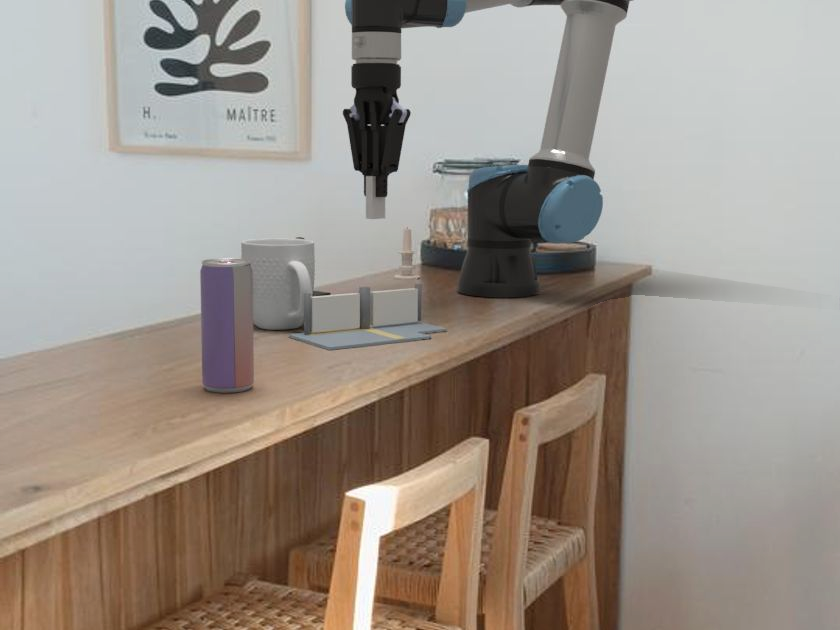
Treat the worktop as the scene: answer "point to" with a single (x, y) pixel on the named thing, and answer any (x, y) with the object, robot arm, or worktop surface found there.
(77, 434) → the worktop surface
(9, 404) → the worktop surface
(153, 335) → the worktop surface
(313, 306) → the fence fixed panel
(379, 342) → the card
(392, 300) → the panel
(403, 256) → the candle
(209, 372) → the beverage can
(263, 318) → the mug
